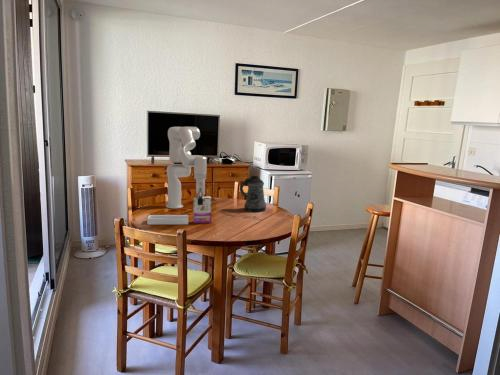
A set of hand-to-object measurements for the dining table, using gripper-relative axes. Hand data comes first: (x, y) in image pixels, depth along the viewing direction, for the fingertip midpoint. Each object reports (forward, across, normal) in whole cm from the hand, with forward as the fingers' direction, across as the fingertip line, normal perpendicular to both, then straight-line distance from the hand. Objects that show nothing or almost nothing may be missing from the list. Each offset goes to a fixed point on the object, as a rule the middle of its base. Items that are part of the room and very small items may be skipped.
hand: (200, 203), depth 227 cm
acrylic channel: (+12, +1, +20) cm, 23 cm away
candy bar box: (+13, +1, -1) cm, 13 cm away
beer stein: (+12, +35, -40) cm, 55 cm away
